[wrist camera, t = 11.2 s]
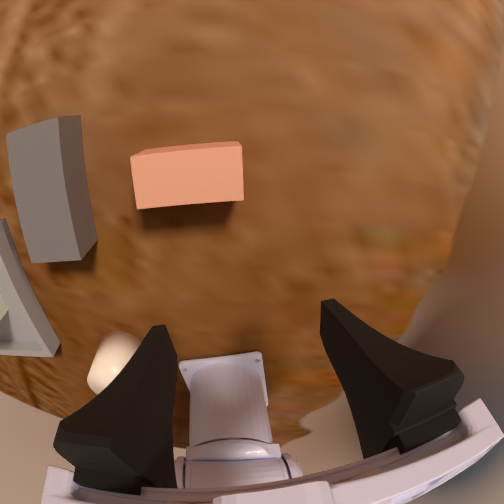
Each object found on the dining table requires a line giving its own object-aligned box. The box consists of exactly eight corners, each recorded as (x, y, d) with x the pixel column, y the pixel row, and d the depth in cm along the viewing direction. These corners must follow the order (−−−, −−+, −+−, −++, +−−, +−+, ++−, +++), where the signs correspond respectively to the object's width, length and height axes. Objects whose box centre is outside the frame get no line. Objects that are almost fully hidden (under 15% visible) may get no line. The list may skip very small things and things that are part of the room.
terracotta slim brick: (239, 185, 20) (243, 200, 16) (150, 193, 19) (137, 209, 16) (237, 141, 18) (241, 146, 15) (145, 149, 18) (130, 156, 14)
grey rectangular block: (82, 115, 16) (58, 117, 13) (98, 238, 20) (81, 260, 17) (33, 128, 15) (6, 134, 12) (52, 242, 20) (31, 263, 16)
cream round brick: (152, 363, 26) (146, 403, 21) (112, 364, 26) (101, 402, 21) (136, 328, 24) (125, 370, 19) (94, 331, 24) (78, 370, 19)
